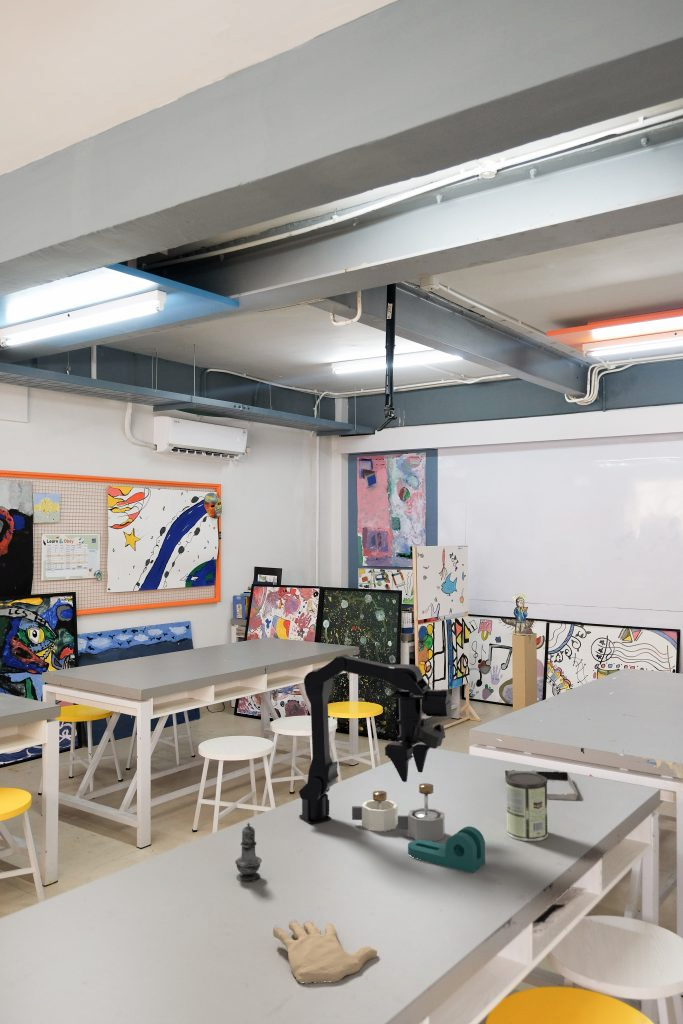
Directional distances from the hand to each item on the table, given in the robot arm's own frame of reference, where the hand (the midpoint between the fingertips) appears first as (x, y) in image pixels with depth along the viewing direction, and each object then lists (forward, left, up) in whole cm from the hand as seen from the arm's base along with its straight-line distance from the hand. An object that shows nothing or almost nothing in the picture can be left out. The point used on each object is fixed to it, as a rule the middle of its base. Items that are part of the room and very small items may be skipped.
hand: (412, 776), depth 211 cm
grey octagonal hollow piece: (+2, -4, -14) cm, 14 cm away
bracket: (-4, -18, -14) cm, 23 cm away
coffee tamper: (+2, -4, -9) cm, 10 cm away
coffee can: (+24, -17, -14) cm, 32 cm away
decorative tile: (+54, +8, -15) cm, 56 cm away
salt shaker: (-47, -3, -14) cm, 50 cm away
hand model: (-50, -40, -15) cm, 65 cm away
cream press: (-4, +8, -14) cm, 17 cm away
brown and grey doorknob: (-4, +8, -13) cm, 16 cm away
